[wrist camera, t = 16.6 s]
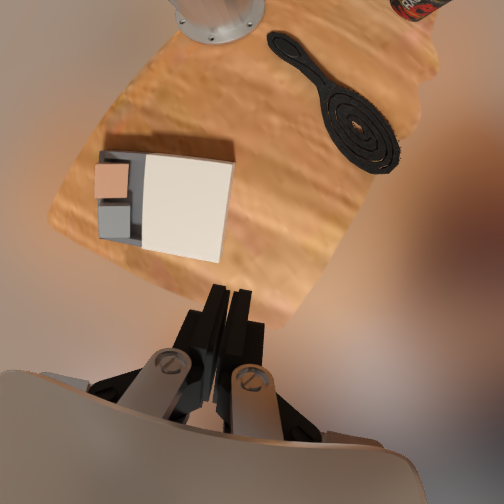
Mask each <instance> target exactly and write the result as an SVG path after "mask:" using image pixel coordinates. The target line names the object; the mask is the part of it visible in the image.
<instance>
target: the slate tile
mask: <svg viewBox="0 0 504 504" xmlns="http://www.w3.org/2000/svg"><path fill="white" fill-rule="evenodd" d="M98 219H99V238H130V233H131V202H104V203H100V204H99V206H98Z"/></svg>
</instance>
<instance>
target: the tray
mask: <svg viewBox="0 0 504 504" xmlns="http://www.w3.org/2000/svg"><path fill="white" fill-rule="evenodd" d="M151 153H152V152H139V151H124V150H103V151H100V153H99V162H129V169H128V184H127V198H98V206H99V204H100V203H104V202H131V233H130V238H100V239H105V240H110V241H115V242H120V243H125V244H130V245H135V246H140V247H142V212H143V190H144V175H145V162H146V154H151ZM98 225H99V219H98Z"/></svg>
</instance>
